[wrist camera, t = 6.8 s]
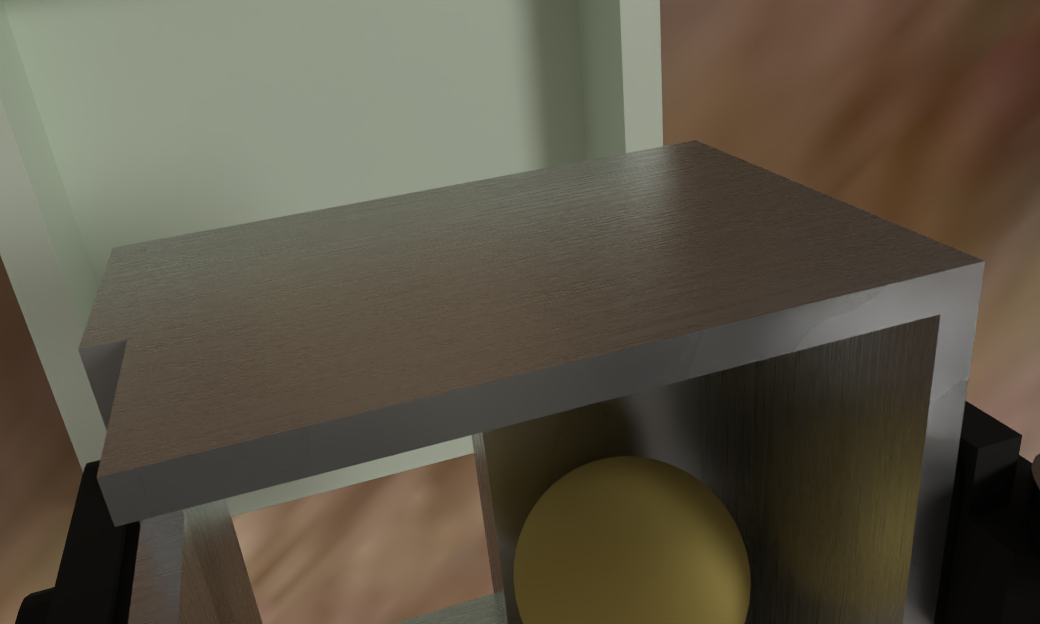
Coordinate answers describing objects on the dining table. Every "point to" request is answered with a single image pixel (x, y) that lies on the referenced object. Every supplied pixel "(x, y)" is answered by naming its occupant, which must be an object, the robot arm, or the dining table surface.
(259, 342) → the open shelf cabinet
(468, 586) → the dining table surface
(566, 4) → the tray
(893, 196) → the dining table surface
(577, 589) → the ball
